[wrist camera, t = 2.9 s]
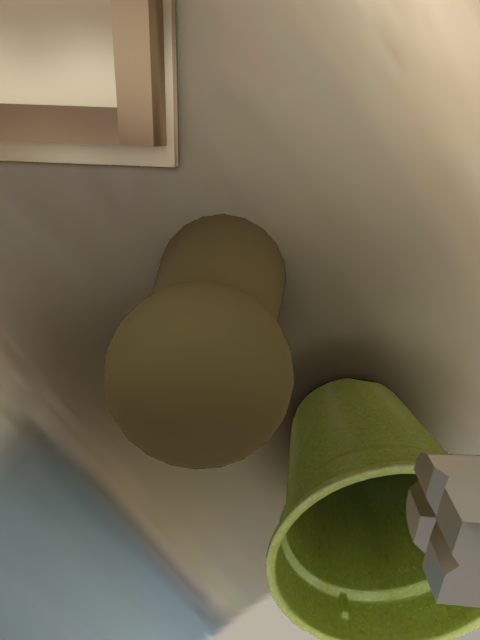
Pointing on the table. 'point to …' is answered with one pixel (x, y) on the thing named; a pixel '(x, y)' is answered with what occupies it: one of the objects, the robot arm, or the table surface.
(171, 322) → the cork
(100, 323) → the table surface
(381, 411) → the plant pot
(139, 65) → the wooden tray
